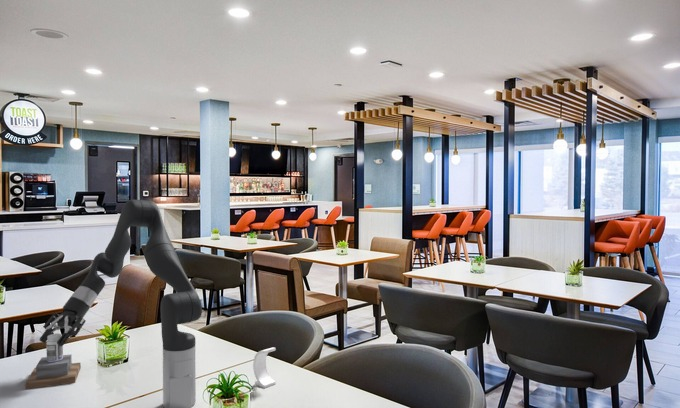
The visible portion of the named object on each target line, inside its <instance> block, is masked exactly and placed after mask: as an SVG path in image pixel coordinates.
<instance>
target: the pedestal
mask: <svg viewBox="0 0 680 408" xmlns="http://www.w3.org/2000/svg"><path fill="white" fill-rule="evenodd" d="M72 362H73V361H72V354H63V359H62V360H60V361H56V362H48V361H47V356H45V357H41V358H40V360H39V361H38V363H37V364H36V366H35V367H34V368H33V370H32V371H31V373H30V374H29V376H28V378H27V379H26V381H25V382H24V383H25V389H26V390H27V389H35V388H42V387H51V386H59V385H67V384H75V383H76V381H77V379H78V376H79V374H80V371H81V362H74V363H72Z"/></svg>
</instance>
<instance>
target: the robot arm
mask: <svg viewBox="0 0 680 408" xmlns="http://www.w3.org/2000/svg"><path fill="white" fill-rule="evenodd" d="M160 211H161V210H160V207H159V206H158V205H157V203H156V202H154V201H152V200H145V199H144V200H143V199H129V200H127V201H126V202H125V203H124V205H123V207H122V208H121V212H120V215H119V218H118V221H117V223H116V227H115V229H114V233H113V236H112V238H111V240H110V241H109V243H108V244H107V246H106V248H105V250H104V252H99V253H98V254H96V255H95V256H94V258H93V261H92V263H91V266H90V269H89V271H88V274H87V275H86V277H85V279H84V280H83V281H82V282H81V284H80V285H79V286H78V288H77V289H75V291H73V293H72V294H71V296H70V297H69V299H68V300H67V301H66V302H65V304H64V305H63V306H62V312H61V313H60V314H58V312H54V313H52V315H51V316H50V317H49V318H48V320H47V321H46V322H45V323H44V324H43V326H42V328H44V332H43V334H41V336H40V337H39V341H40V342H41V343H42V344H44V343H47V342H48V340H47V336H49V335H51V334H54V332H56V331H59V330H61V329H64V332H63V333H62V334H61V337H60V339H59V340H58V341H57V344H58V345H59V346H64V345H65V344H66V342H67V341H68V340H69V338H71V337H72V336H77V335H78V334H79V332H80V331H81V329H82V327H83V326H84V325H85V323H86V320H85V318H84V317H85V316H86V314H87V313H88V311H89V310H90V309H91V307H92V306H93V305H94V303H95V301H96V299H97V297H98V296H99V294H100V293H101V292H102V291H103V289H104V288H105V286H106V281H105V280H104V279H103V278H102V277H101V275H99V274H98V273H101V274H103V275H105V276H107V277H108V278H116V277H118V276H119V275H120V274H121V273H122V270H123V267H124V263H125V262H124V261H125V257H126V255H127V253H128V252H129V251H130V249H131V247H132V238H131V235H130V233H129V228H131V227H137V228H138V227H140V228H142V227H143V228H148V230H149V232H150V236H149V238H148V239H147V241H146V244H145V247H144V250H143V254H144V258H145V261H146V263H147V266H148V268H149V270H150V272H151V273H152V274H153V275H154V276H155V277H157V278H158V279H160V280H161V281H162V282H165V284H167V285H169V286H170V287H171V288H172V289H173V290H174V292H172V293H167V294H165V295H163V296H162V298H161V301H160V307H159V309H160V310H159V311H160V322H161V323H160V324H161V339H162V340H161V341H162V407H163V408H193V407H192V406H194V405H195V404H196V400H197V399H196V395H197V394H196V390H197V389H196V388H197V387H196V336H195V335H194V334H193V333H191V332H187V331H186V332H184V331H180V330H179V328H178V325H182V324H189V323H193V322H196V321H198V320H199V319H200V318H201V317H202V314H203V305H202V301H201V298H200V296H199V295H198V293H197V291H196V289H195V287H194V285H193V284H192V282H191V281H190V279H189V278H188V276H187V273H186V272H185V269H184V268H183V265H182V264H181V261H180V259H179V256H178V254H177V251H176V249H175V247H174V245H173V243H172V241H171V238H170V237H169V235H168V232H167V229H166V226H165V224H164V220H163V218H162V214H161V212H160Z"/></svg>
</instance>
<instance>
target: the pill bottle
mask: <svg viewBox="0 0 680 408" xmlns="http://www.w3.org/2000/svg"><path fill="white" fill-rule="evenodd" d="M61 336H62V334H61V333H52V334H51V335H49V336H47V341H46V342H45V343H46V344H45V346H46V357H47V361H48V362H56V361H60V360H62V359H63V355H64V352H63V351H64V347H63V346H64V345H63V346H59V345H58V344H57V341H58V340H59V339H60V337H61Z"/></svg>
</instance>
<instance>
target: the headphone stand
mask: <svg viewBox="0 0 680 408" xmlns="http://www.w3.org/2000/svg"><path fill="white" fill-rule="evenodd" d="M276 350H277V349H276V347H270V348H266V349H263V350H258V352H256V354H255V355H254V358H253V364H252V367H253V373H254V376H255V379H256V380H255V381H254V385H257V386H259V387H262V388H264V389H265V388H269V387H271V386H274V385H276V383H277V382H276V381H275V379H273V378H272V377H271V376H270V374H269V372H268V369H267V356H268V354H269V353H271V352H275V351H276Z"/></svg>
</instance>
